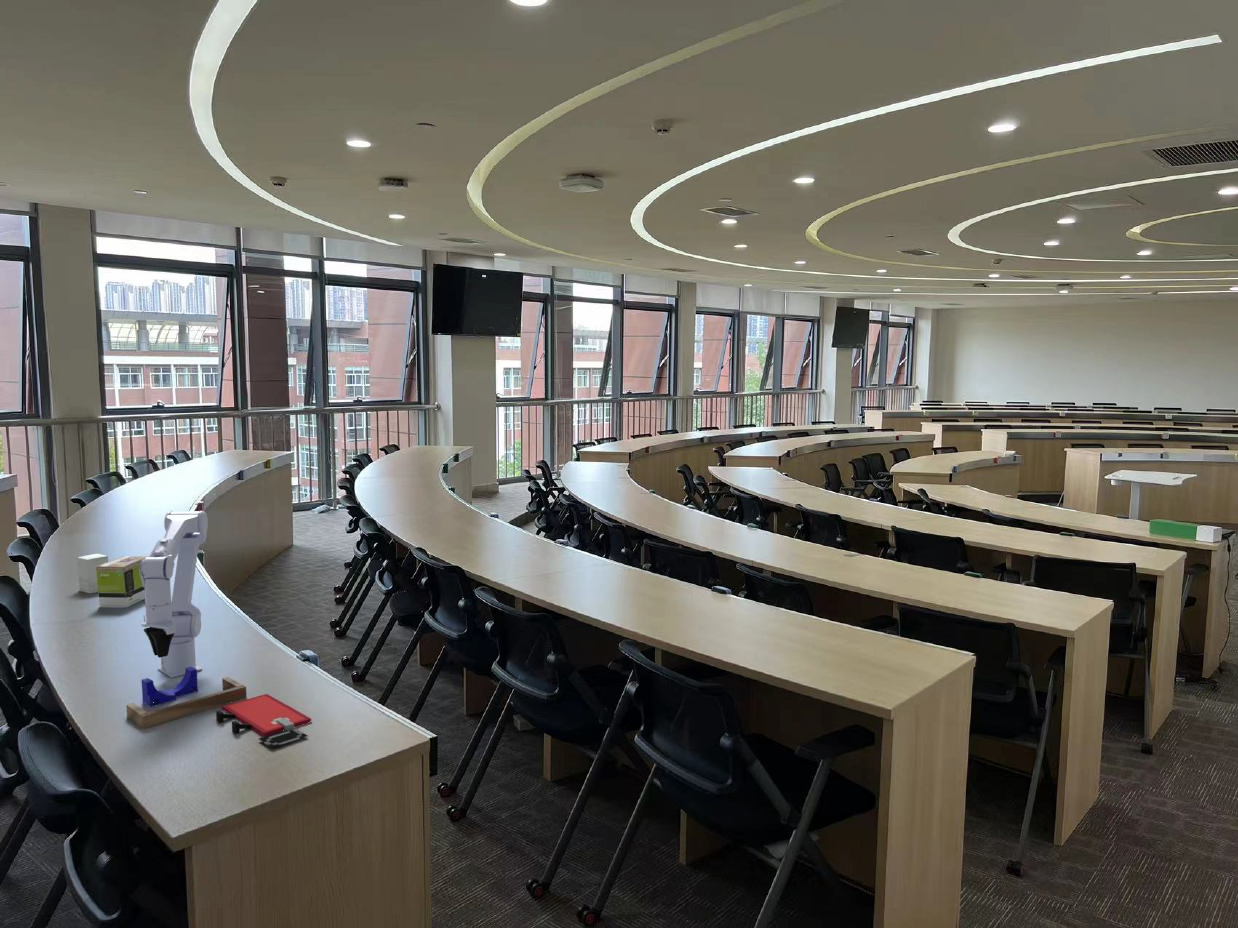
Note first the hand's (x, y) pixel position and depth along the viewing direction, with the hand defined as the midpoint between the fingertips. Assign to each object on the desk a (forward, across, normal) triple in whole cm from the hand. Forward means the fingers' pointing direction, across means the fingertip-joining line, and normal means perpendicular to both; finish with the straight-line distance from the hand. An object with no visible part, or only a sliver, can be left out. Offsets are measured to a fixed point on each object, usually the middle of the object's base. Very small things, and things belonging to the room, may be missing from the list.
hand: (161, 655), depth 212 cm
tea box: (+10, -92, +24) cm, 96 cm away
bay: (+9, +15, 0) cm, 18 cm away
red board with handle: (+10, +37, +8) cm, 39 cm away
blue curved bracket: (+10, +6, 0) cm, 11 cm away
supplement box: (+10, -116, +22) cm, 118 cm away
